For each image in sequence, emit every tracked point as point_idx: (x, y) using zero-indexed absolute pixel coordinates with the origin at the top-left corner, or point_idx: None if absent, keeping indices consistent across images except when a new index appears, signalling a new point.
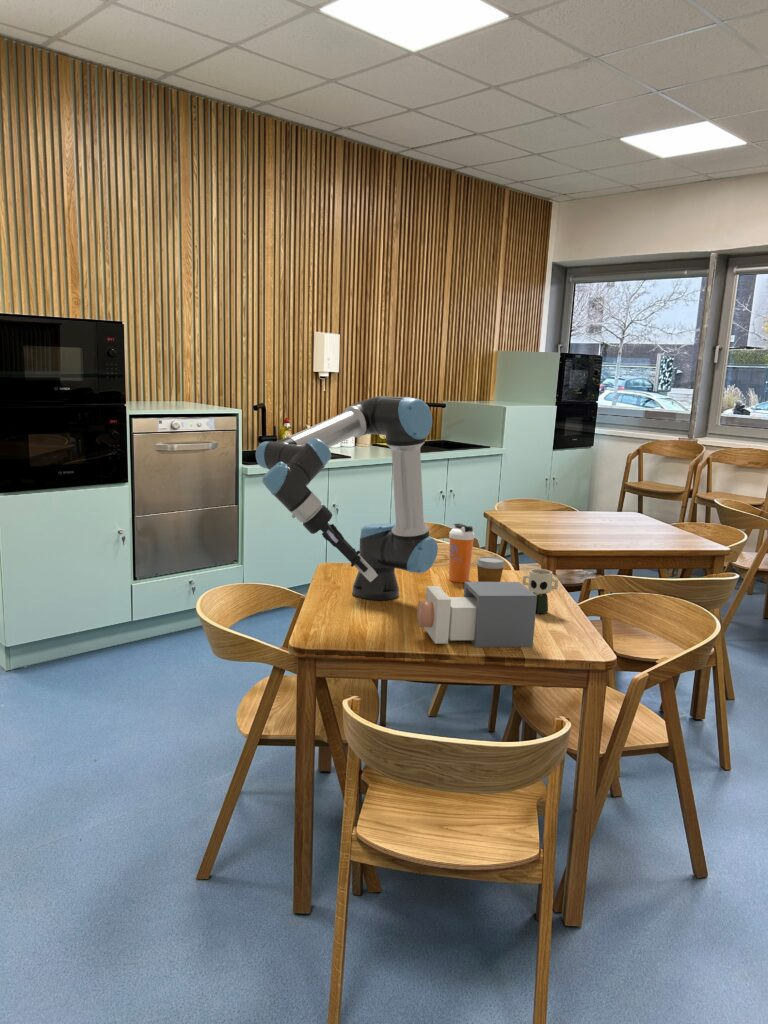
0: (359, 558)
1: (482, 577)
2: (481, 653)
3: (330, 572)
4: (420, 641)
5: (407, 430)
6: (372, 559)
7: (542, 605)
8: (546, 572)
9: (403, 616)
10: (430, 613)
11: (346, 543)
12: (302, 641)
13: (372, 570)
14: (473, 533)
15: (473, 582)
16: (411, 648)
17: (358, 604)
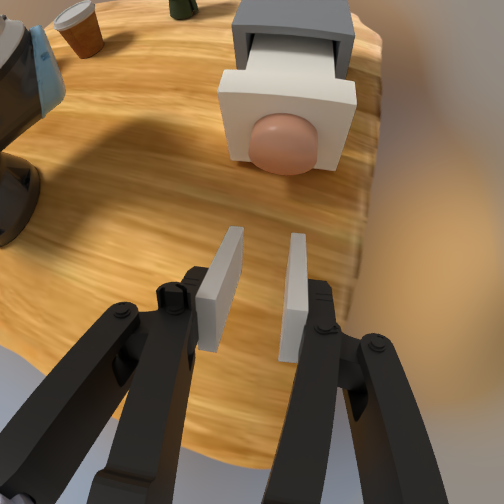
0: (388, 343)
1: (82, 36)
2: (366, 116)
3: None
4: (296, 190)
5: None
6: None
7: (195, 3)
8: None
9: (130, 180)
10: (316, 138)
11: (324, 466)
12: (253, 460)
13: (306, 254)
14: (9, 19)
15: (241, 16)
16: (338, 222)
17: (39, 253)
